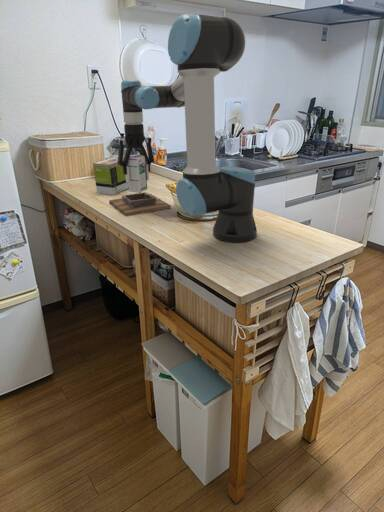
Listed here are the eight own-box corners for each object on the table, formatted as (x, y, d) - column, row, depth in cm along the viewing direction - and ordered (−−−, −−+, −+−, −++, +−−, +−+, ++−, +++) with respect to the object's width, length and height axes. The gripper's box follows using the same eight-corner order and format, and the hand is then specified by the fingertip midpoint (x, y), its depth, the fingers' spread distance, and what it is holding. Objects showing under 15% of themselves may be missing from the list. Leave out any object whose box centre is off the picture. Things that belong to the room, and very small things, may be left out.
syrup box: (140, 192, 155) (138, 157, 149) (128, 191, 158) (125, 156, 152) (147, 189, 160) (145, 155, 154) (135, 188, 162) (133, 154, 156)
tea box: (114, 186, 193) (112, 156, 187) (131, 188, 189) (128, 158, 183) (96, 193, 181) (92, 162, 175) (113, 195, 177) (109, 164, 171)
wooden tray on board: (170, 208, 158) (170, 199, 157) (125, 216, 149) (124, 206, 148) (150, 197, 174) (150, 188, 172) (109, 203, 165) (108, 194, 163)
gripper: (153, 121, 155) (156, 176, 165) (105, 124, 146) (110, 182, 155) (161, 122, 149) (163, 179, 159) (111, 125, 140) (117, 185, 149)
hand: (137, 180), depth 157 cm, fingers closed on syrup box, 8 cm apart
